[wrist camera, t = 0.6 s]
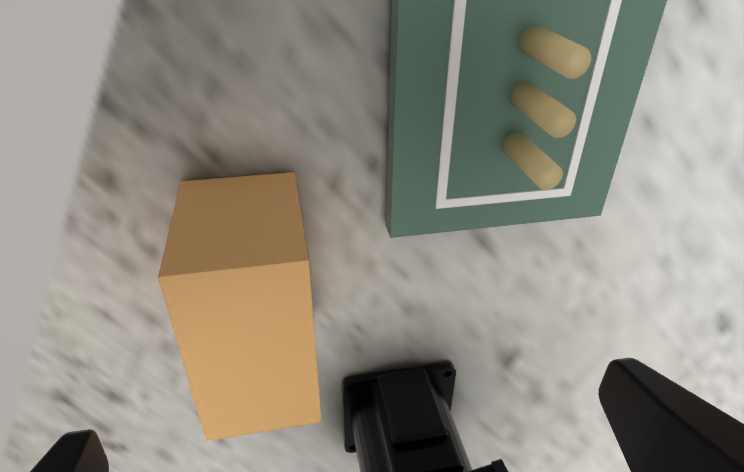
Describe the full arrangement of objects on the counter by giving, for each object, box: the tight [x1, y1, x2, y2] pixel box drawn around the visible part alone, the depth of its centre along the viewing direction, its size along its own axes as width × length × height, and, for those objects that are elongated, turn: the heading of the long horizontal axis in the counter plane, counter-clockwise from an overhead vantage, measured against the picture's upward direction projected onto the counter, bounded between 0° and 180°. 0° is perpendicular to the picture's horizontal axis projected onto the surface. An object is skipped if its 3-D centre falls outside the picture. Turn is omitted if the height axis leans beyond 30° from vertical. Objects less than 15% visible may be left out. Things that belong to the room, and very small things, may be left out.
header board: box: [386, 0, 667, 238], centre depth 19 cm, size 12×10×4 cm
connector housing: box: [158, 172, 321, 441], centre depth 20 cm, size 8×4×6 cm, turn 0°
